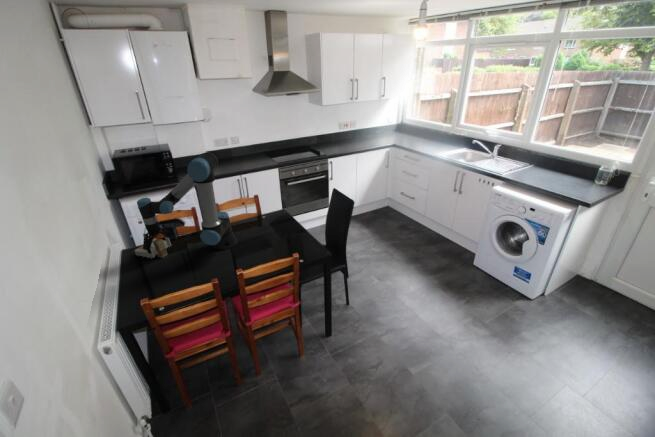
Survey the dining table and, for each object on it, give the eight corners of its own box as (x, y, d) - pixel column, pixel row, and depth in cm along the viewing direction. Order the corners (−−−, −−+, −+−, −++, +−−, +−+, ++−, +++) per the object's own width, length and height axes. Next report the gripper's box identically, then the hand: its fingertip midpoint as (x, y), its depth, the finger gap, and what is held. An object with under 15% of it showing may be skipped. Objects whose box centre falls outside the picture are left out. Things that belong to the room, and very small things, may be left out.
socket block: (170, 246, 220) (168, 241, 218) (151, 259, 207) (149, 253, 205) (155, 243, 225) (153, 238, 223) (136, 255, 212) (134, 250, 210)
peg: (168, 255, 210) (162, 239, 204) (163, 258, 207) (157, 242, 201) (163, 254, 211) (157, 238, 206) (158, 257, 208) (152, 241, 203)
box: (178, 235, 233) (174, 222, 228) (176, 239, 228) (172, 226, 223) (167, 236, 232) (163, 224, 227) (165, 240, 227) (160, 227, 222)
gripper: (162, 212, 209) (172, 240, 219) (129, 231, 189) (140, 260, 198) (171, 214, 206) (180, 242, 216) (138, 233, 186) (149, 263, 196)
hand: (161, 251), depth 207 cm, fingers open, 13 cm apart
